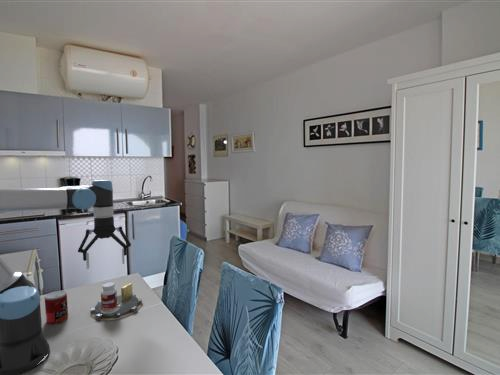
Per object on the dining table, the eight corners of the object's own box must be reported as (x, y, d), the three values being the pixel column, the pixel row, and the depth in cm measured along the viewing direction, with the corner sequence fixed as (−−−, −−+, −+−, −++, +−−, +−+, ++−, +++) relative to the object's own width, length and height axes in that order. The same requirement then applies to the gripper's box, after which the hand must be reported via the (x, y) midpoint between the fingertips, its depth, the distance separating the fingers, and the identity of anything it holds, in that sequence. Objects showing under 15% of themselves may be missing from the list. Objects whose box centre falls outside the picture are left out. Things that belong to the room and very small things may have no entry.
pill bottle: (100, 313, 122) (98, 288, 121) (103, 306, 128) (101, 282, 127) (116, 311, 124) (115, 286, 123) (118, 304, 129) (117, 280, 129)
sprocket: (151, 300, 137) (150, 285, 136) (116, 323, 117) (116, 305, 117) (117, 293, 144) (116, 279, 144) (79, 314, 125) (78, 297, 124)
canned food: (57, 325, 117) (55, 299, 117) (41, 323, 119) (39, 297, 118) (72, 315, 125) (71, 291, 124) (57, 313, 126) (55, 289, 126)
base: (143, 313, 126) (143, 313, 126) (89, 325, 117) (89, 324, 117) (139, 294, 145) (139, 293, 145) (92, 303, 136) (92, 302, 136)
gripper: (134, 212, 131) (136, 258, 133) (70, 217, 120) (73, 266, 122) (136, 215, 124) (137, 263, 126) (68, 220, 114) (71, 272, 115)
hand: (106, 265), depth 124 cm, fingers open, 13 cm apart
